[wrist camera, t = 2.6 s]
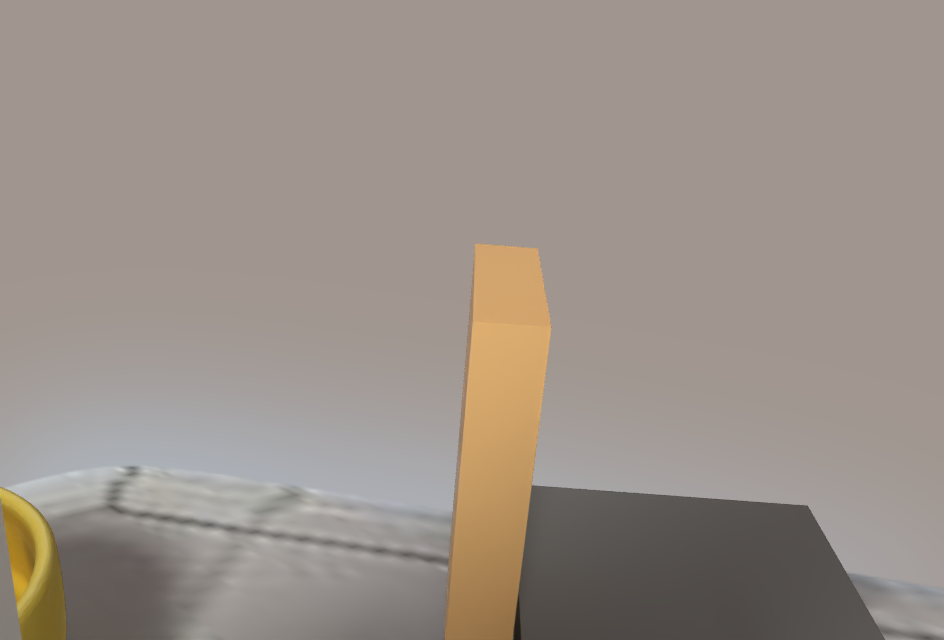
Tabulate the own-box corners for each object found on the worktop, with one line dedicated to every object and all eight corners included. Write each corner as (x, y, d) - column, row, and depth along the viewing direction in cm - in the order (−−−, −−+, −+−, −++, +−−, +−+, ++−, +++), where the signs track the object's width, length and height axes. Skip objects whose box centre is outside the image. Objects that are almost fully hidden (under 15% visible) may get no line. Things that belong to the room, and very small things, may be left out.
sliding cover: (477, 992, 23) (559, 371, 16) (417, 988, 23) (472, 364, 16) (479, 716, 31) (533, 225, 24) (434, 713, 31) (475, 220, 24)
